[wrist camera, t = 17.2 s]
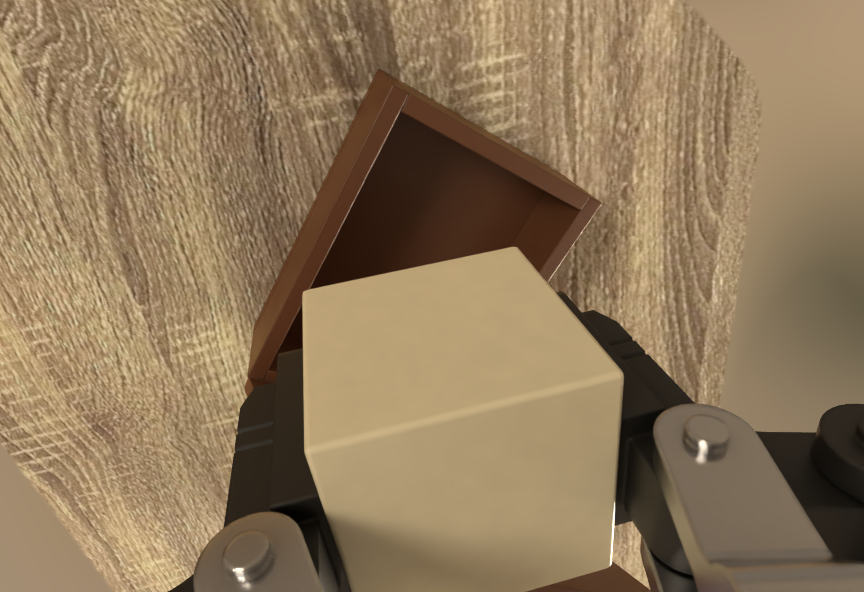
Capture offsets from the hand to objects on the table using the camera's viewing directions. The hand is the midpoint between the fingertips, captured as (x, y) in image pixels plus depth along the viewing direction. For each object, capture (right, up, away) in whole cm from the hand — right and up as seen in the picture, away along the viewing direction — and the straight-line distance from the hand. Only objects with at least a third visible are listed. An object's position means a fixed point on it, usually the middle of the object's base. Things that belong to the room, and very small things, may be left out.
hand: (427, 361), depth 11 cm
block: (0, 0, 0) cm, 0 cm away
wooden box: (-1, +4, +20) cm, 21 cm away
